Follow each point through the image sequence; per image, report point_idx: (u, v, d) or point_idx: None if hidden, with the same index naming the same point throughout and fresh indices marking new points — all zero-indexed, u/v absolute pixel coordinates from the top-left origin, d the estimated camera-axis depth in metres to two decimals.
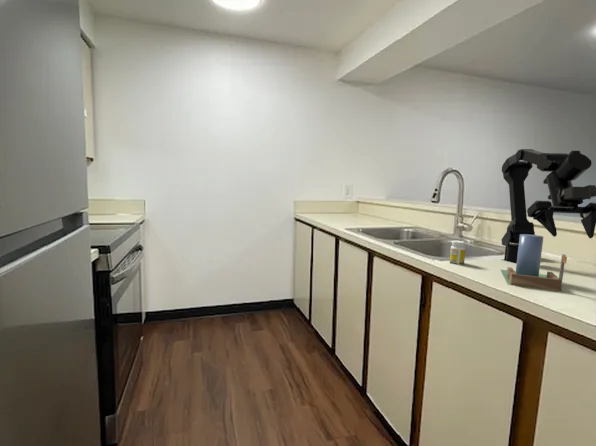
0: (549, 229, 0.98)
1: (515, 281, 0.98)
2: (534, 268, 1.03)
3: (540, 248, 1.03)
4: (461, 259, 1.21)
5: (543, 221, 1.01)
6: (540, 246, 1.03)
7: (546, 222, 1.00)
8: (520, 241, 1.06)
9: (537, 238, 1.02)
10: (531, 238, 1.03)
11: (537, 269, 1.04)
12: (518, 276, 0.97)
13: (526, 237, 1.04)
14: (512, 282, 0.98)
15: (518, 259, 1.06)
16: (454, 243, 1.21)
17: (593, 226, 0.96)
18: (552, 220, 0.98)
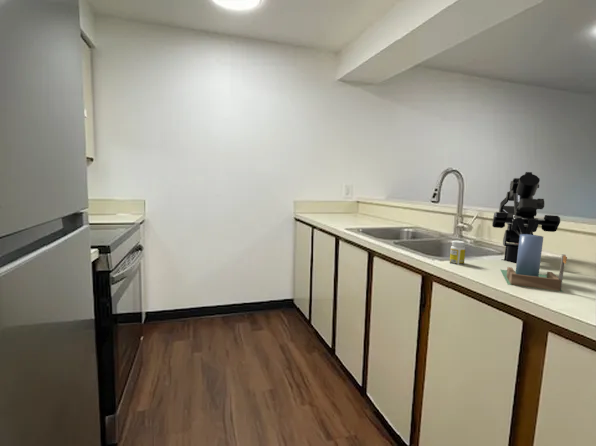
0: None
1: (515, 281, 0.98)
2: (534, 268, 1.03)
3: (540, 248, 1.03)
4: (461, 259, 1.21)
5: (518, 230, 1.17)
6: (540, 246, 1.03)
7: (519, 231, 1.16)
8: (520, 241, 1.06)
9: (537, 238, 1.02)
10: (531, 238, 1.03)
11: (537, 269, 1.04)
12: (518, 276, 0.97)
13: (526, 237, 1.04)
14: (512, 282, 0.98)
15: (518, 259, 1.06)
16: (454, 243, 1.21)
17: (528, 232, 1.13)
18: (523, 228, 1.14)
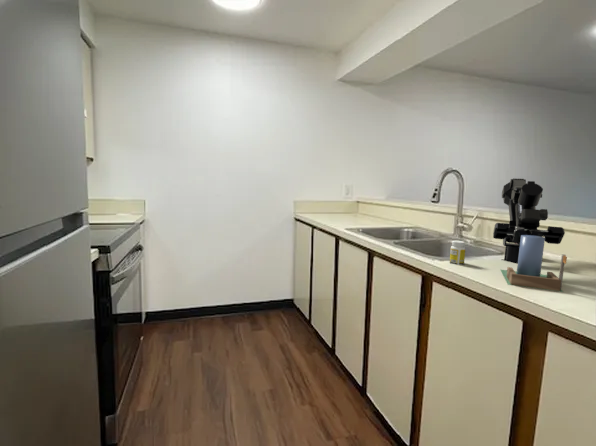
0: None
1: (515, 281, 0.98)
2: (536, 270, 1.02)
3: (541, 249, 1.01)
4: (461, 259, 1.21)
5: None
6: (541, 247, 1.01)
7: None
8: (521, 242, 1.04)
9: (538, 239, 1.01)
10: (532, 239, 1.01)
11: (538, 270, 1.02)
12: (518, 276, 0.97)
13: (527, 238, 1.02)
14: (512, 282, 0.98)
15: (519, 260, 1.05)
16: (454, 243, 1.21)
17: None
18: None
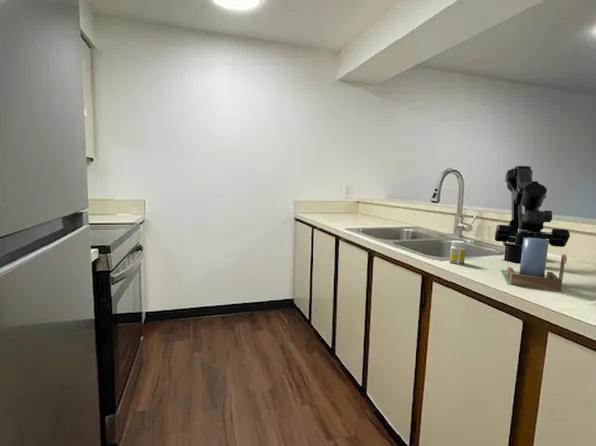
0: None
1: (515, 281, 0.98)
2: (539, 274, 0.97)
3: (545, 252, 0.96)
4: (461, 259, 1.21)
5: None
6: (545, 250, 0.96)
7: None
8: (524, 245, 0.99)
9: (542, 242, 0.96)
10: (535, 242, 0.96)
11: (542, 275, 0.97)
12: (518, 276, 0.97)
13: (530, 241, 0.97)
14: (512, 282, 0.98)
15: (521, 264, 1.00)
16: (454, 243, 1.21)
17: None
18: None
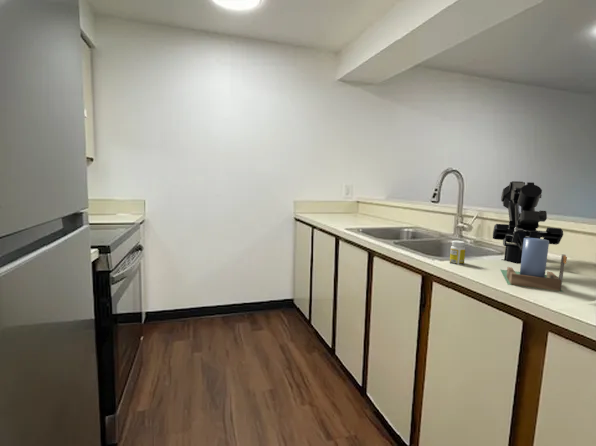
0: (522, 249, 1.11)
1: (515, 281, 0.98)
2: (539, 274, 0.96)
3: (546, 253, 0.96)
4: (461, 259, 1.21)
5: (519, 243, 1.13)
6: (546, 251, 0.96)
7: (521, 244, 1.12)
8: (524, 245, 0.99)
9: (542, 242, 0.95)
10: (536, 242, 0.96)
11: (542, 275, 0.97)
12: (518, 276, 0.97)
13: (530, 241, 0.97)
14: (512, 282, 0.98)
15: (522, 264, 1.00)
16: (454, 243, 1.21)
17: None
18: None
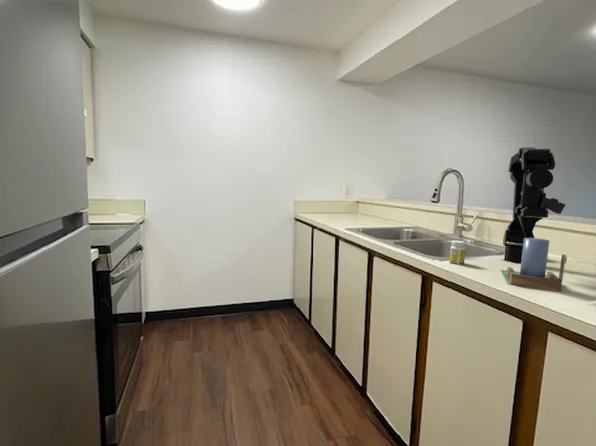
0: (527, 231, 1.09)
1: (515, 281, 0.98)
2: (540, 274, 0.96)
3: (546, 253, 0.96)
4: (461, 259, 1.21)
5: (525, 221, 1.09)
6: (546, 251, 0.96)
7: (527, 224, 1.09)
8: (524, 245, 0.99)
9: (543, 242, 0.95)
10: (536, 242, 0.96)
11: (542, 275, 0.97)
12: (518, 276, 0.97)
13: (531, 241, 0.97)
14: (512, 282, 0.98)
15: (522, 264, 0.99)
16: (454, 243, 1.21)
17: None
18: None
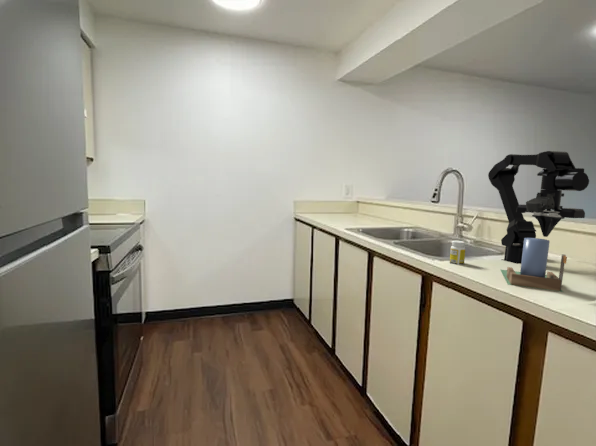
0: None
1: (515, 281, 0.98)
2: (540, 274, 0.96)
3: (546, 253, 0.96)
4: (461, 259, 1.21)
5: None
6: (546, 251, 0.96)
7: None
8: (524, 245, 0.99)
9: (543, 242, 0.95)
10: (536, 242, 0.96)
11: (543, 275, 0.97)
12: (518, 276, 0.97)
13: (531, 241, 0.97)
14: (512, 282, 0.98)
15: (522, 264, 0.99)
16: (454, 243, 1.21)
17: (546, 228, 1.14)
18: (541, 223, 1.15)
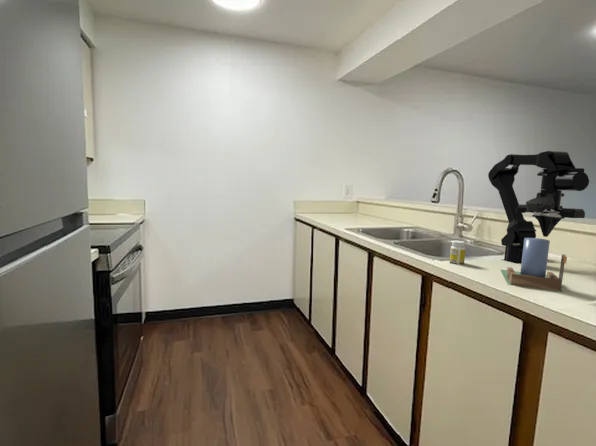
0: None
1: (515, 281, 0.98)
2: (540, 274, 0.96)
3: (546, 253, 0.96)
4: (461, 259, 1.21)
5: None
6: (546, 251, 0.96)
7: None
8: (524, 245, 0.99)
9: (543, 242, 0.95)
10: (536, 242, 0.96)
11: (543, 275, 0.97)
12: (518, 276, 0.97)
13: (531, 241, 0.97)
14: (512, 282, 0.98)
15: (522, 264, 0.99)
16: (454, 243, 1.21)
17: (546, 228, 1.14)
18: (541, 223, 1.15)
